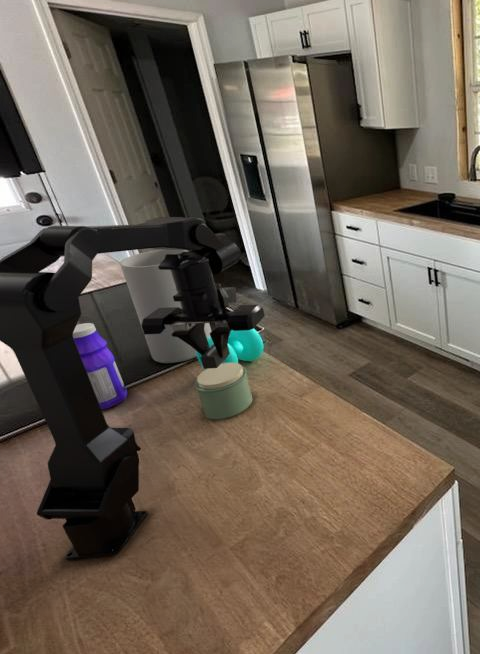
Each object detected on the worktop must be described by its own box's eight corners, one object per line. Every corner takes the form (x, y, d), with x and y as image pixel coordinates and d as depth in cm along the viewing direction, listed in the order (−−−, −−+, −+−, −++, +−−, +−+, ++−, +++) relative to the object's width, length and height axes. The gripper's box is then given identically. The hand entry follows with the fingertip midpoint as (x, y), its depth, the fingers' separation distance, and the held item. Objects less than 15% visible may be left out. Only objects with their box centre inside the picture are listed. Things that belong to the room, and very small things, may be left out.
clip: (217, 368, 79) (213, 355, 78) (203, 368, 79) (199, 355, 78) (230, 353, 84) (226, 341, 82) (217, 354, 83) (213, 341, 82)
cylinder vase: (213, 355, 102) (187, 261, 93) (148, 370, 96) (113, 270, 87) (215, 333, 112) (191, 246, 103) (156, 345, 105) (126, 253, 96)
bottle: (83, 403, 85) (51, 329, 78) (118, 388, 90) (90, 317, 83) (99, 415, 82) (67, 339, 75) (134, 398, 86) (107, 326, 80)
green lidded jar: (241, 418, 82) (232, 385, 79) (194, 421, 81) (183, 388, 78) (260, 390, 90) (253, 359, 87) (217, 393, 89) (208, 362, 86)
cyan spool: (269, 360, 101) (261, 324, 97) (233, 384, 92) (223, 345, 88) (237, 353, 103) (228, 317, 100) (199, 375, 94) (188, 337, 91)
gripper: (268, 267, 84) (282, 333, 89) (167, 269, 81) (188, 337, 87) (242, 289, 73) (260, 363, 79) (126, 293, 71) (153, 368, 77)
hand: (216, 356), depth 81 cm, fingers closed on clip, 2 cm apart
